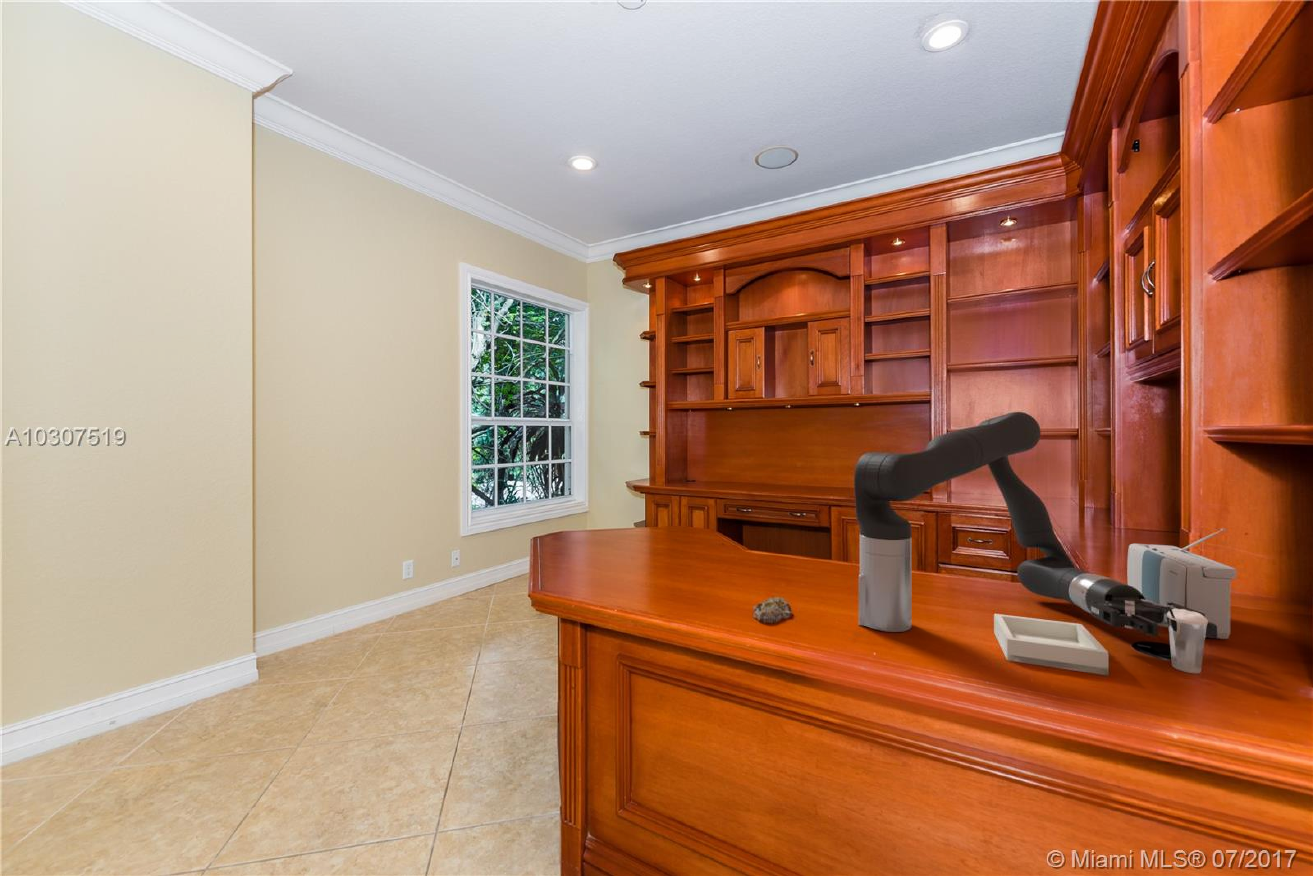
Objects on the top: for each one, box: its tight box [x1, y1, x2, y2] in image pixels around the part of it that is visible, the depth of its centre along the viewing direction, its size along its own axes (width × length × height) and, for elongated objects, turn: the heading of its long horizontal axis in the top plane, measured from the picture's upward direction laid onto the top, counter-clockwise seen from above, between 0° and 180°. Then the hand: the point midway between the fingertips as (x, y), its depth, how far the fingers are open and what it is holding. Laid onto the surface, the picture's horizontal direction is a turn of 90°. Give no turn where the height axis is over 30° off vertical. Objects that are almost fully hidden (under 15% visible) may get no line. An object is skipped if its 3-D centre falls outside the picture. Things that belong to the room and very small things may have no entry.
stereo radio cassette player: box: [1126, 527, 1238, 640], centre depth 103 cm, size 21×8×20 cm, turn 159°
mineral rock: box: [753, 596, 792, 624], centre depth 108 cm, size 11×4×8 cm
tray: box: [993, 613, 1109, 676], centre depth 89 cm, size 13×13×4 cm
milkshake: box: [1167, 606, 1208, 674], centre depth 82 cm, size 4×5×10 cm
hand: (1185, 631), depth 82 cm, fingers open, 8 cm apart
